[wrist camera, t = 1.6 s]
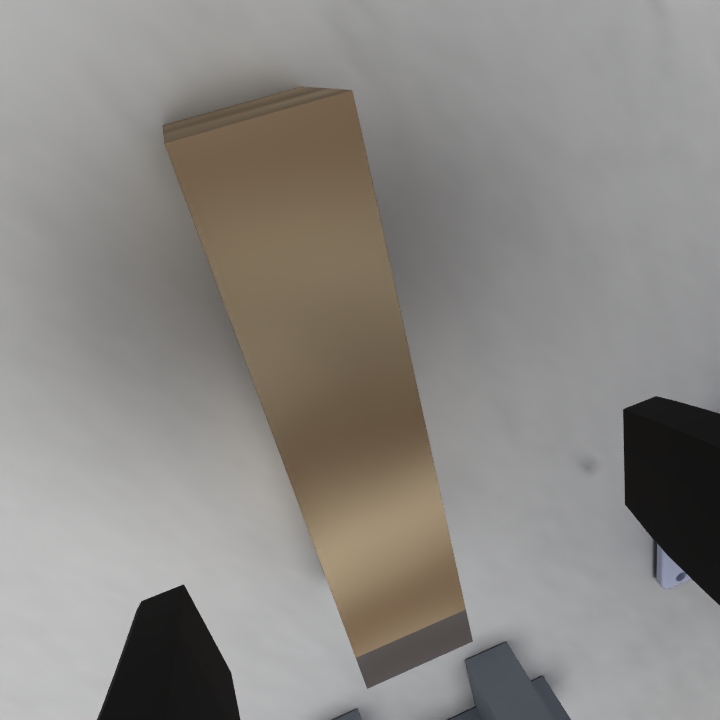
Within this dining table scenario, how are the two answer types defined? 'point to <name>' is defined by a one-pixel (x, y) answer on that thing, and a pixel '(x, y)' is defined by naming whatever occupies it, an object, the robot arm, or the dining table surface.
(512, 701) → the grey stepped block
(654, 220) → the dining table surface
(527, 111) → the dining table surface
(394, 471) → the rail
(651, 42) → the dining table surface
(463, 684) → the dining table surface
